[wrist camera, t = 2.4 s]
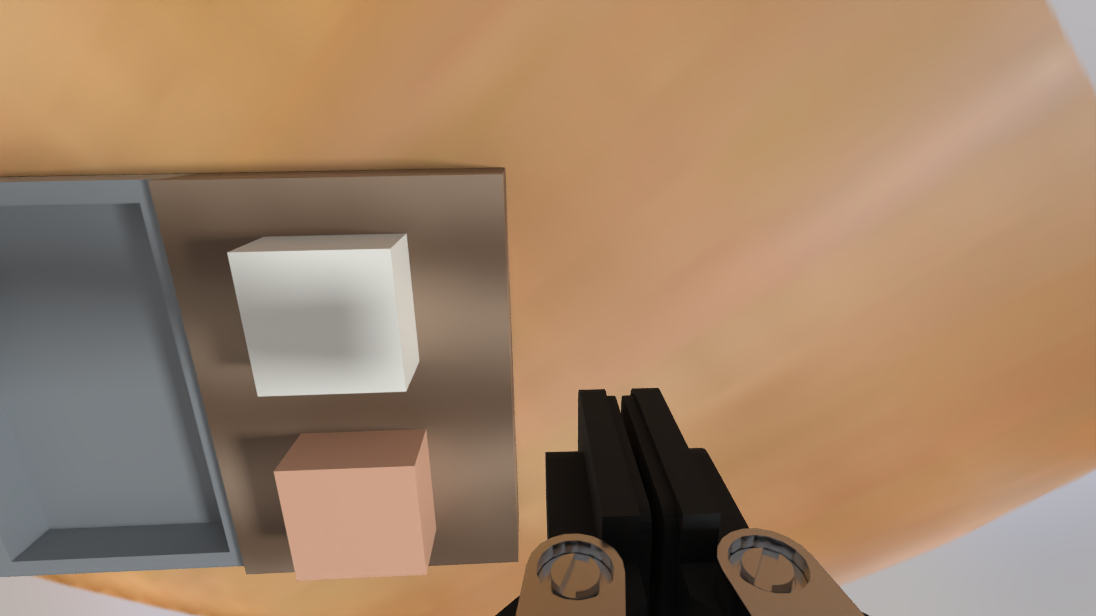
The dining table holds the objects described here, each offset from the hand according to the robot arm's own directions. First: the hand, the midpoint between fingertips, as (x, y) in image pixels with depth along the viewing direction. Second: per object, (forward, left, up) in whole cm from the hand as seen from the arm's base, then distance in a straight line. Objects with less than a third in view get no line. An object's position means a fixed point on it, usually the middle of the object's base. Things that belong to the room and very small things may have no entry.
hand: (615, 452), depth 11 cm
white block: (0, -8, -10) cm, 13 cm away
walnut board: (+4, -8, -13) cm, 16 cm away
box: (+4, -20, -13) cm, 24 cm away
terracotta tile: (+8, -8, -10) cm, 15 cm away
